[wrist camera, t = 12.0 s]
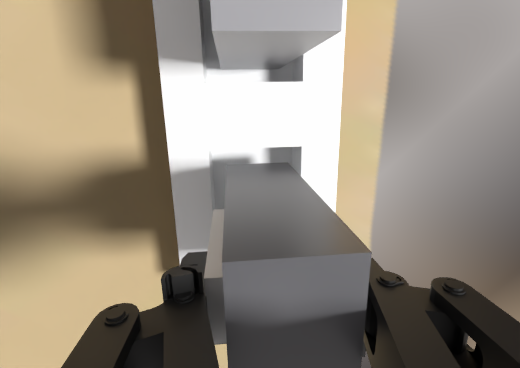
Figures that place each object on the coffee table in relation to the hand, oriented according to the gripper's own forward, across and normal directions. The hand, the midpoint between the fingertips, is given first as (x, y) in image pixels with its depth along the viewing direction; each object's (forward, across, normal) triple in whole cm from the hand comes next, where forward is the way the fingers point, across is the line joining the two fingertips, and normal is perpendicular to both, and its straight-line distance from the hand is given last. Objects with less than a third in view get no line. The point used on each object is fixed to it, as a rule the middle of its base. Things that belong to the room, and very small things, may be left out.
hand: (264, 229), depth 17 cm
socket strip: (+7, 0, +6) cm, 9 cm away
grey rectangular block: (+4, 0, 0) cm, 4 cm away
